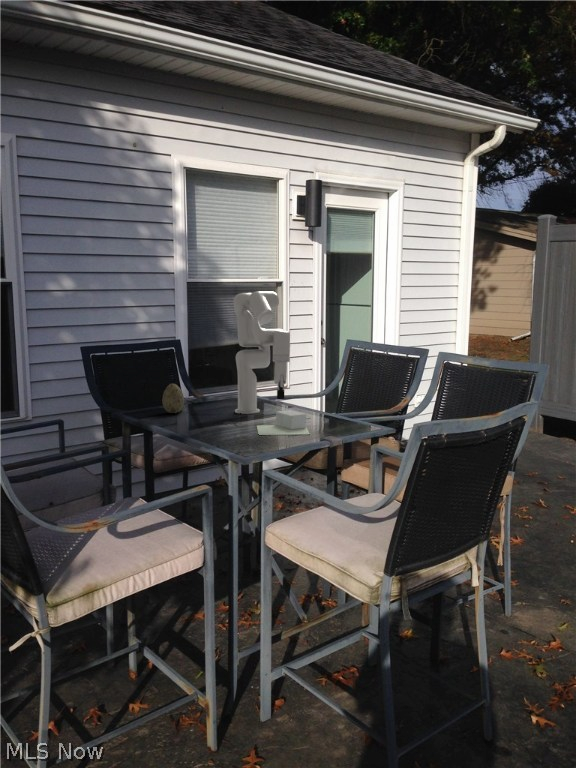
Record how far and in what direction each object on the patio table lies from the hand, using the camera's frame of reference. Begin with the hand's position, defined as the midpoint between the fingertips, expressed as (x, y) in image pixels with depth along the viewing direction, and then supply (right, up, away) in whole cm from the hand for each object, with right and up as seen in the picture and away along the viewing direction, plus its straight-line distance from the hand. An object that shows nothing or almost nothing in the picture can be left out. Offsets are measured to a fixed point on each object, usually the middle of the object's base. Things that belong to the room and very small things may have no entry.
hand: (280, 398), depth 305 cm
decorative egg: (-54, -8, +35) cm, 65 cm away
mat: (+1, -14, -6) cm, 15 cm away
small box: (+1, -9, +6) cm, 11 cm away
